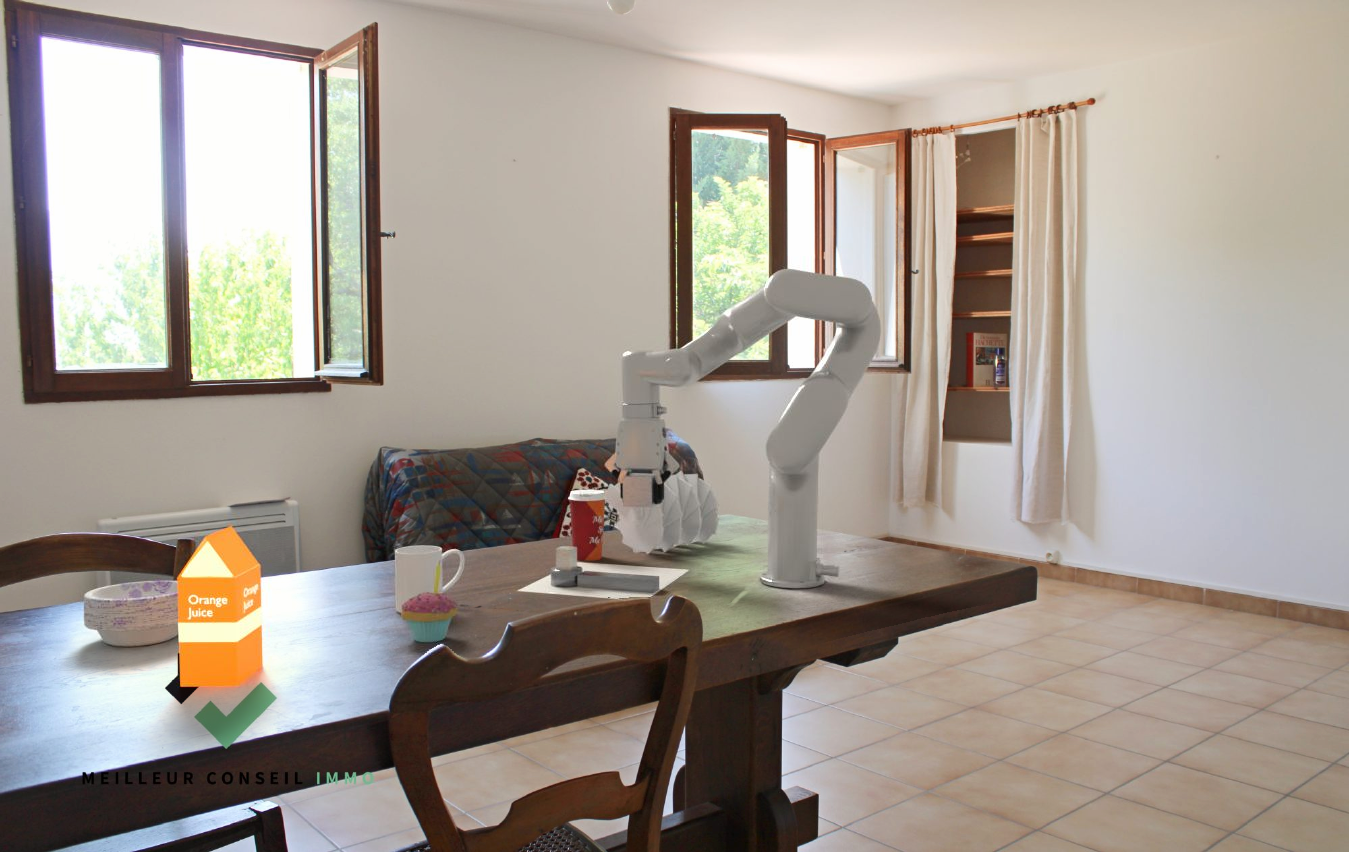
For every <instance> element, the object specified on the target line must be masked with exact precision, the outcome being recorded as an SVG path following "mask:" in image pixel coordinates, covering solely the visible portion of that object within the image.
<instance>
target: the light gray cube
mask: <svg viewBox="0 0 1349 852" xmlns="http://www.w3.org/2000/svg"><path fill="white" fill-rule="evenodd" d="M654 484H656V480H655V477H654V475H653V473H639V472H638V473H637V472H636V473H635V472H633V473H632V472H631V473H630V474H629V475H626V476H623V507H649V508H652V507H654V506H657V505H659V504H655V503H654ZM660 504H661V503H660Z"/></svg>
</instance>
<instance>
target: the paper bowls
mask: <svg viewBox="0 0 1349 852" xmlns="http://www.w3.org/2000/svg"><path fill="white" fill-rule="evenodd" d="M83 621H84V622H83V623H84V627H85V628H87V629H88V630H94V631H97V632H98V634H99V636H100V638H101V639H102V641H103V642H104V643H105V644H108V645H111V646H115V647H125V648H126V647H140V646H141V647H143V646H150V645H151V646H152V645H154V644H160V643H163V642H167V641H169V640H171V639H173V638H175V637H176V636H179V632H178V623H179V617H178V580H143V581H134V582H124V583H117V584H112V585H105V586H103V587H98V588H95V589H91V590H89V591H87V592H86V593H84V595H83Z"/></svg>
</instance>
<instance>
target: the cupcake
mask: <svg viewBox="0 0 1349 852" xmlns="http://www.w3.org/2000/svg"><path fill="white" fill-rule="evenodd" d="M440 561H441V560H439V564H438V565H437V567H436V575H435V584H434V593H429V592H428V593H427V592H425V593H422V594H418V596H415V597H413V598H411V599H409V600H408V601H406V602H405V603H404V604H403V605H402V611H401V613H400V617H401V619H402V620H404V621H406V623H407V624H408V626H409V628H410V631H411V634H412V637H413V640H414V641H416V642H419V643H436V642H440V641H443V640H444V639H445V638H446V637H447V633H448V629H449V627H450V623H451V621H452V619H453V617H455V616H456V615H457V614H458V604H457V603H456V601H455V600H453V598H452V597H451V596H448V595H446V593H444V592H443V593H438V587H439V578H440V569H441V566H440Z"/></svg>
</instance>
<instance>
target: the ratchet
mask: <svg viewBox="0 0 1349 852" xmlns="http://www.w3.org/2000/svg"><path fill="white" fill-rule="evenodd" d="M577 562H578V560H577V547H573V546H572V545H571V546H570V545H567V546H566V545H561V546H559V547H556V548H555V566H552V567H550V575H551V586H554V587H560V588H571V587H580V588H593V589H606V590H619V591H632V592H645V593H654V592H656V591H657V590H658V589H659V576H650V575H636V574H622V573H608V572H594V571H584V572H582V567H579V566H577Z"/></svg>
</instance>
